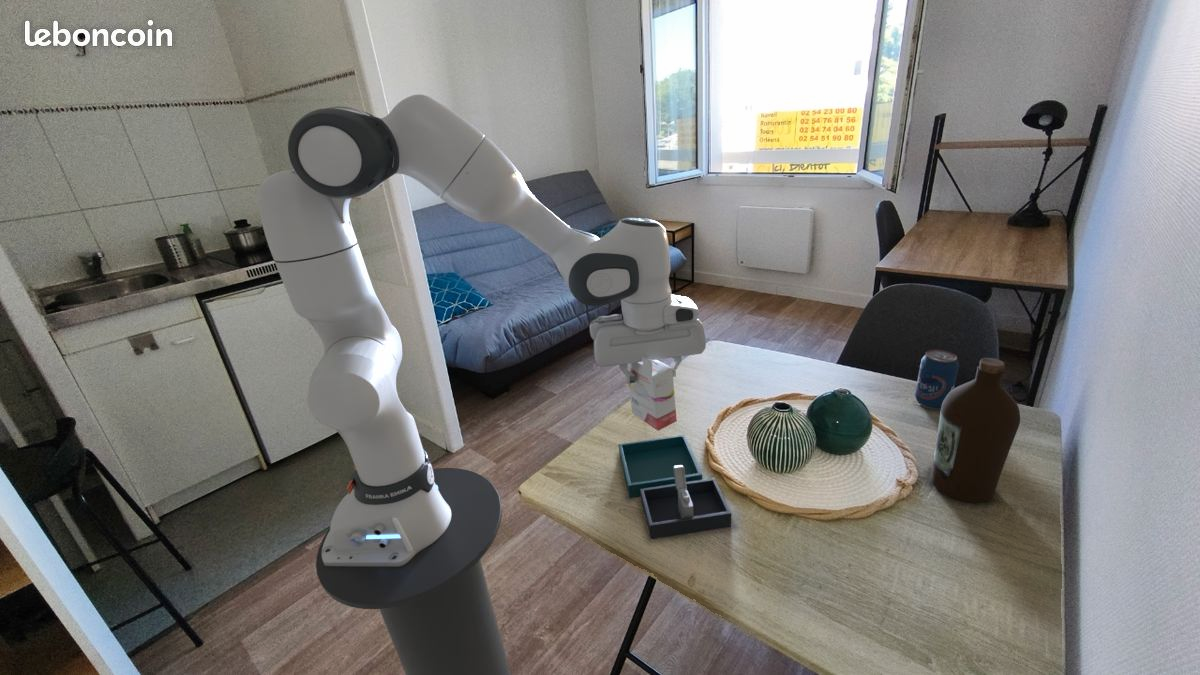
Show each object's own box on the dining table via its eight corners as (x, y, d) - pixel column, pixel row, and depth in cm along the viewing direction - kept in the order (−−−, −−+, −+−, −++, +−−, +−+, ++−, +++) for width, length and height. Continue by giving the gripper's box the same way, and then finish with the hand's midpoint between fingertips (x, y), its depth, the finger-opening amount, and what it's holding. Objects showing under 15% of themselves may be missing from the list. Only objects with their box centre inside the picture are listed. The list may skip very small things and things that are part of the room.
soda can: (908, 403, 114) (917, 356, 110) (920, 391, 118) (929, 345, 113) (943, 414, 109) (953, 366, 105) (954, 401, 113) (965, 354, 108)
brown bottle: (981, 467, 94) (1014, 347, 83) (1010, 508, 84) (1051, 379, 74) (917, 464, 96) (941, 347, 86) (939, 503, 87) (968, 377, 77)
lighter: (693, 525, 87) (693, 489, 84) (684, 526, 87) (682, 490, 84) (683, 496, 94) (682, 462, 90) (674, 498, 93) (672, 463, 90)
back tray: (629, 498, 95) (628, 485, 94) (619, 455, 107) (618, 443, 106) (702, 487, 96) (702, 474, 95) (684, 446, 108) (684, 434, 107)
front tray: (650, 539, 86) (649, 525, 85) (640, 501, 94) (639, 488, 93) (731, 527, 87) (731, 513, 85) (714, 490, 95) (714, 477, 94)
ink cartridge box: (678, 421, 96) (673, 352, 89) (658, 432, 93) (651, 362, 87) (650, 403, 102) (643, 338, 96) (630, 413, 100) (622, 347, 94)
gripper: (589, 324, 85) (597, 395, 90) (708, 309, 86) (708, 379, 92) (586, 311, 90) (594, 378, 96) (697, 297, 92) (698, 364, 97)
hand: (651, 379), depth 94 cm, fingers closed on ink cartridge box, 6 cm apart
